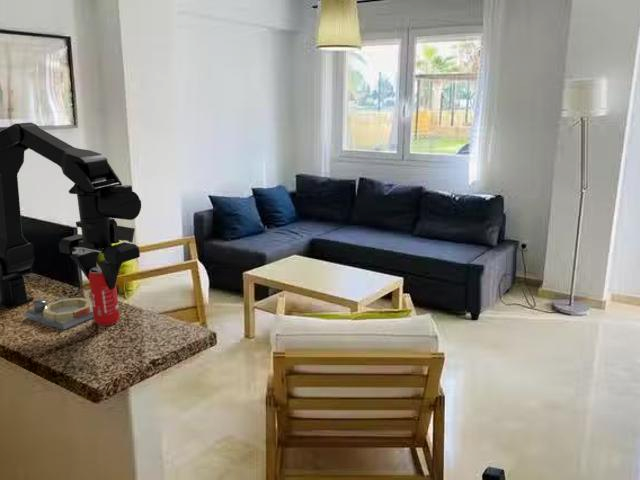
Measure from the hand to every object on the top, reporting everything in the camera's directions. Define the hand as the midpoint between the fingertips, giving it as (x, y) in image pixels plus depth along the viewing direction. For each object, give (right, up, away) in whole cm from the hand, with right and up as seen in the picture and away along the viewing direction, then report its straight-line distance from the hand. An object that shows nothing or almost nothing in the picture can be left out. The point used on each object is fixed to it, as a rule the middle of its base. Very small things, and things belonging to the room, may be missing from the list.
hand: (103, 286), depth 122 cm
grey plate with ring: (-11, -7, +5) cm, 14 cm away
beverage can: (0, -8, +2) cm, 8 cm away
